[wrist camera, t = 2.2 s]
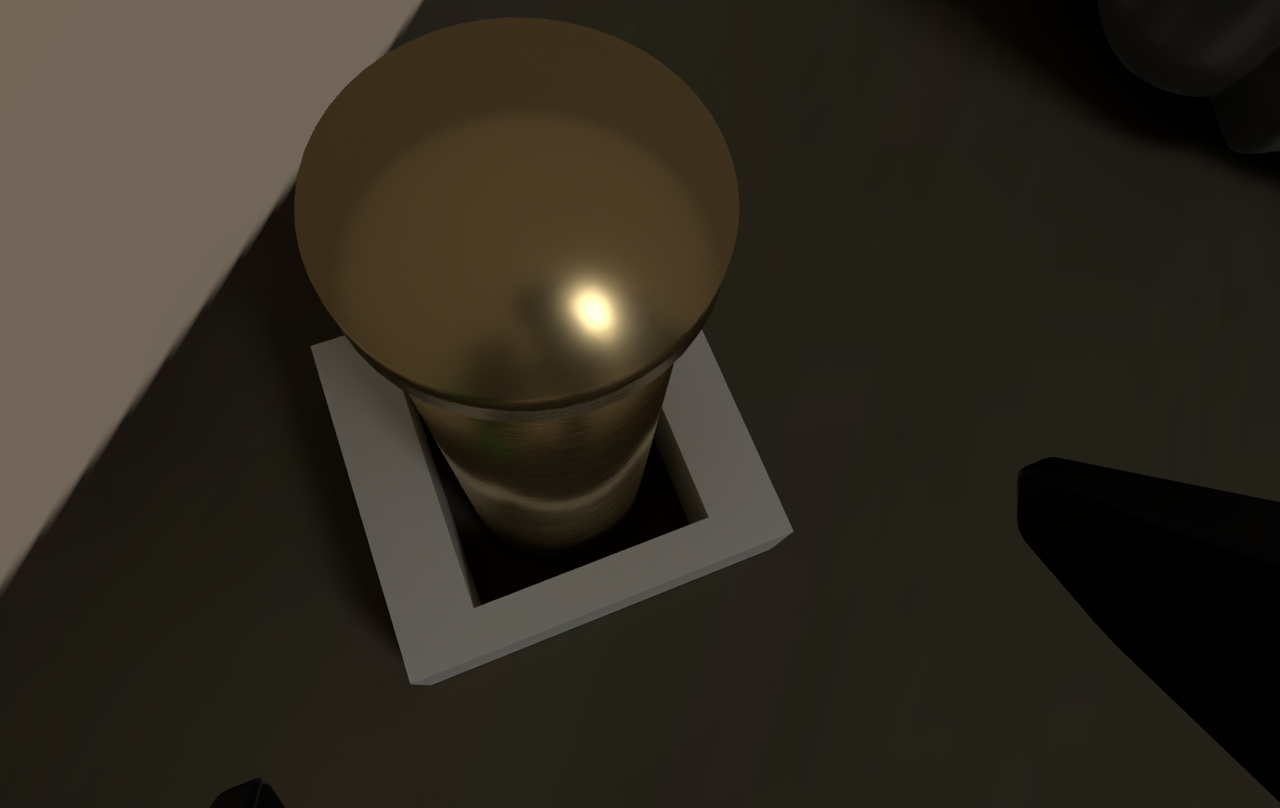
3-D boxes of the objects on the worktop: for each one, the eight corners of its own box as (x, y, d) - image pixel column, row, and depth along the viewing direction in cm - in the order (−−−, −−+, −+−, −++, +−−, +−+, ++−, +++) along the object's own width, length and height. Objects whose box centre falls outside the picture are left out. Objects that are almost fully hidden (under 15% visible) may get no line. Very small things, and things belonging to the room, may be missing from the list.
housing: (769, 549, 21) (793, 531, 19) (431, 684, 20) (410, 683, 17) (651, 281, 24) (659, 235, 21) (339, 382, 22) (310, 346, 20)
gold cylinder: (673, 418, 22) (784, 85, 10) (616, 598, 21) (668, 460, 8) (498, 362, 23) (400, -29, 10) (428, 536, 21) (212, 315, 9)
